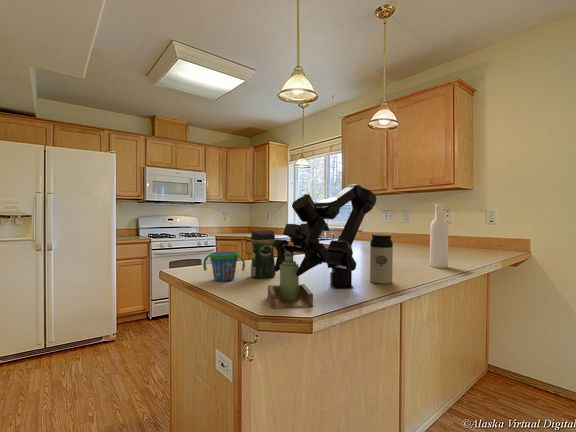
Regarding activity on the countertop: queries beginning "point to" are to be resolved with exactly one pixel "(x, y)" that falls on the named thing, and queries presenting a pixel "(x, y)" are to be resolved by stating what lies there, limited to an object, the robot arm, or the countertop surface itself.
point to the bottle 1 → (289, 279)
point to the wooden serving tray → (303, 301)
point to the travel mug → (381, 258)
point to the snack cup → (224, 265)
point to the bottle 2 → (439, 239)
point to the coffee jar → (262, 254)
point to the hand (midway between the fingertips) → (285, 272)
